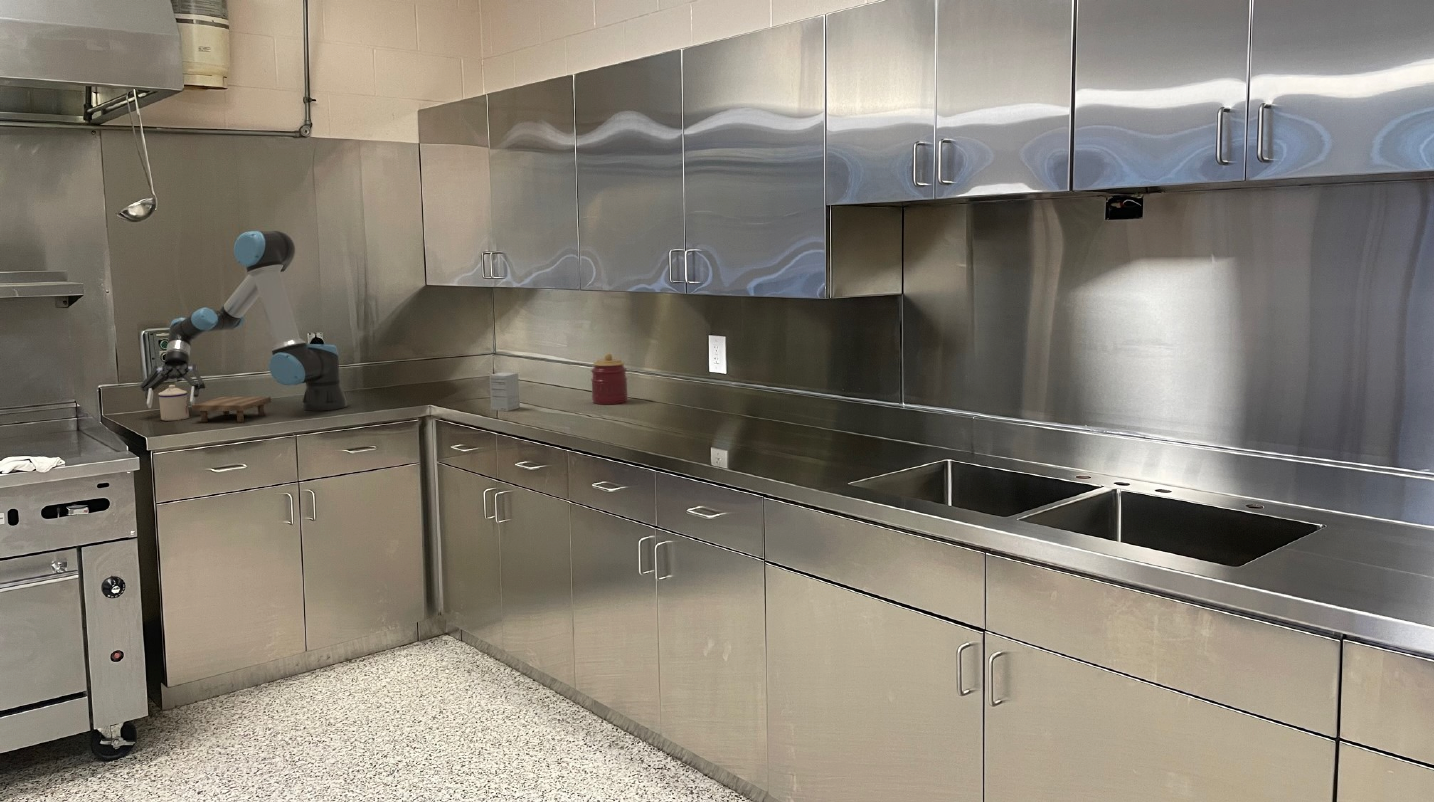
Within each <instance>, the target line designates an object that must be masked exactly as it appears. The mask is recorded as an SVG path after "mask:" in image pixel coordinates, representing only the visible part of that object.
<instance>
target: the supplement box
mask: <svg viewBox="0 0 1434 802" xmlns="http://www.w3.org/2000/svg"><path fill="white" fill-rule="evenodd" d="M519 387H520V386H519V373H517V372H502V371H501V372H498V373H493V374H489V394H490V409H491V411H497V412H498V411H499V412H510V411H513V410H516V409H520V407H521V405H520V388H519Z"/></svg>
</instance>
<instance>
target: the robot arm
mask: <svg viewBox="0 0 1434 802" xmlns="http://www.w3.org/2000/svg"><path fill="white" fill-rule="evenodd" d="M233 254H234V257H235V260H236V261H237V263H239V264H240V266H243V267H245V269H246V272H247V275H246V277H245V278H244V280H243V281H242V282H241V283H240V284H239V286H238V287H237V288H236V289H235V290H234V291H233V293H232V294H231V295H230V297H229V298H228V299H227V300H226V301H225V302H224V304H223V305H222V306H221V307H220V308H219V309H217V310H213V309H212V308H209V307H202V308H199V309H197V310H195V311H194V312H193V313H191V314H190V315H189V316H188V317H179V318H174V319H173V320H172V321H171V323H170V326H169V328H168V336H167V338H168V339H167V345H166V350H165V351H166V353H165V356H164V363H163V364H164V365H163V366H162V367H158V366H157V365H154V366H153V369H152V371H151V372H150V373H149V374H148V375H147V377H146V378H145V379H144V381H143V382H142V383H141V384H140V389H141V390H142V392H145V393H144V397H145V399H146V406H147V408H148V409H151V408H152V406H153V400H154V399H153V398H154V390H156V388H158V387H159V386H161V385H162V384H163V383H164V382H166V381H168V380H174V379H175V380H176V379H177V380H180V379H181V378H182V379H183V380H185V381H186V382H188V383H187V384H189V385H191V391H190V397H189V398H190V399H189V403H190V406H192V405H195V404H196V403H195V402H196V398H197V397H199V394H200V389H202V390H203V389H205V388H206V384H205V382H204V381H203V378H202V377H201V375H200V373H199V371H198V367H197V364H195V363H194V364H192V365H191V366H189V362H190V354H191V347H192V342H193V341H194V340H196V339H197V338H199V337H201V336H202V335H203V334H206V333H214V332H220V331H222V332H223V331H232V330H235V329H238V328H241V327H242V325H243V324H244V319H245V318H244V315H245V314H246V312H247V311H248V310H249V309H250V308H251V307H252V305H253V304H255V302H256V301H257V299H258V298H260V302H261V305H262V308H263V312H264V315H265V317H266V321H267V325H268V328H269V331H270V333H271V337H272V341H273V343H274V344H273V347H272V349H271V354H272V356H271V357H270V358H269V359H270V360H269V363H268V368H269V372H270V374H271V376H272V378H273V379H274V380H275V381H276V382H277V383H279V384H281V385H283V386H286V387H287V386H298V385H301V384H305V390H304V393H303V394H304V395H303V398H302V403H301V405H302V407H301V408H302V410H303V411H310V412H311V411H312V412H313V411H314V412H323V411H331V410H333V411H334V410H339V409H344V408H346V407H348V402H347V399H346V395H345V394H344V393H345V392H344V390H343V388H342V386H341V379H340V375H341V374H340V363H339V357H340V356H339V353H338V347H337V346H336V345H335V344H320V343H319V344H317V343H316V344H314V343H313V344H312V343H308V344H307V341H305V340H304V339H302V338H300V337H301V336H300V334H299V330H298V327H297V324H296V321H295V317H294V314H293V310H292V307H291V304H290V301H289V297H288V295H287V290H286V287H285V284H284V280H283V278H282V274H281V273H284V272H285V271H286V269H288V268H289V266H290V265H291V264H292V262H293V261H294V258H295V256H296V247H295V243H294V241H293V239H292V238H291V237H290V236H289V235H288V234H286V232H283V231H280V230H252V231H251V230H250V231H245V232H243V233H242V234H241V233H240V235H239V236H238V237H237V239H236V241H235V242H234V246H233ZM189 371H190V372H191V373H193V375H194V377H195V378H196V380H197V382H196V381H195V380H194V379H193V378H192V377H191V376H190V375H189V374H188V372H189Z"/></svg>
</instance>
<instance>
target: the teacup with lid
mask: <svg viewBox="0 0 1434 802" xmlns="http://www.w3.org/2000/svg"><path fill="white" fill-rule="evenodd" d="M157 397H158V401H159V411H160V420H162V421H164V422H165V421H166V422H167V421H169V422H170V421H180V420H181V419H182V420H186V419H188V418H189V417H190V415H189V414H190V413H189V403H188V392H187V390H183V389H181V388H179V387H176V385H175V384H170V385H168V388H166V389H165V390H163V391H161V392H158V395H157Z"/></svg>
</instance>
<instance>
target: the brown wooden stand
mask: <svg viewBox="0 0 1434 802" xmlns="http://www.w3.org/2000/svg"><path fill="white" fill-rule="evenodd" d="M271 398H272V397H271V396H220V397H218V398H217V397H216V398H213V399H210V400H206V401H203V402H199V403H194V405H191V411H192V412H195V411H196V412H197V411H199V412H200V421H201V423H206V422H209V420H208V419H209V418H208V412H211V411H212V412H213V411H215V412H216V411H219V412H223V413H222V415H223V416H230V415H231V414H230V412H233V411H234V412H236V420H237V423H244V422H245V418H244V411H247V410H249V409H253V408H257V413H258V414H257V415H258V416H265V405H266V404H269V403H272V399H271Z"/></svg>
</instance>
